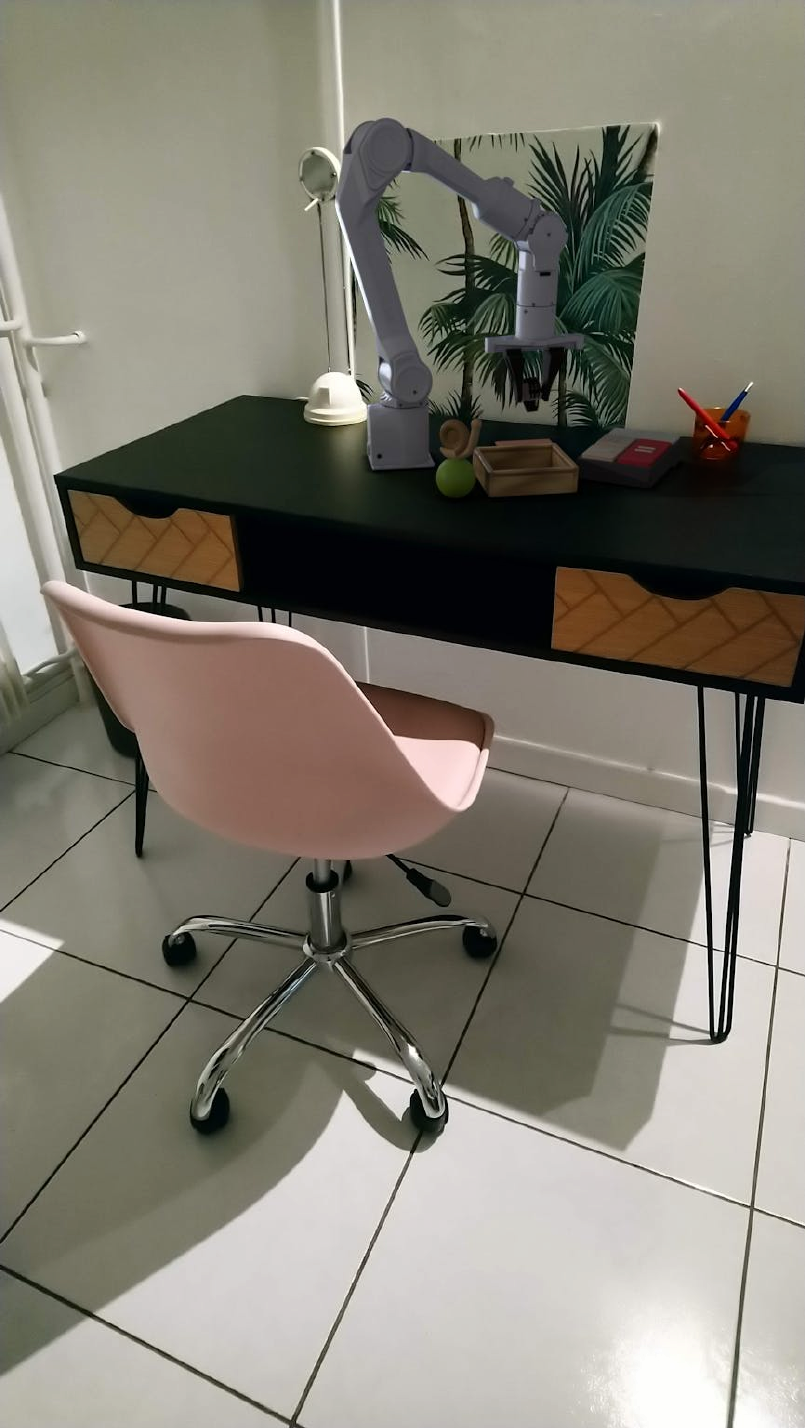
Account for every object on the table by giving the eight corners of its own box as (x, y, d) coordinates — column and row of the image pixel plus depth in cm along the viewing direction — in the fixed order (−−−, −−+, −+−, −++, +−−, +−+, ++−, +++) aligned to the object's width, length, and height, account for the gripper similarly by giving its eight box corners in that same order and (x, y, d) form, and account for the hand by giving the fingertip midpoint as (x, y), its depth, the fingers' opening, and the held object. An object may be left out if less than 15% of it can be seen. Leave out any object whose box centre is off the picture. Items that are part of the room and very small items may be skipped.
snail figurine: (469, 507, 119) (471, 415, 113) (428, 499, 122) (428, 409, 116) (488, 495, 123) (491, 406, 116) (448, 488, 126) (448, 400, 119)
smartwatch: (546, 406, 139) (545, 373, 137) (540, 415, 135) (540, 381, 133) (520, 407, 141) (519, 374, 138) (513, 416, 137) (512, 382, 134)
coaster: (506, 459, 137) (506, 457, 137) (494, 443, 145) (495, 441, 145) (563, 456, 138) (563, 453, 138) (549, 441, 146) (549, 438, 145)
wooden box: (488, 497, 122) (489, 472, 120) (472, 470, 133) (472, 447, 131) (577, 492, 123) (579, 467, 121) (554, 466, 134) (555, 442, 132)
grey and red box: (576, 453, 126) (613, 423, 137) (574, 482, 129) (611, 451, 139) (652, 463, 122) (685, 431, 132) (649, 493, 124) (681, 460, 134)
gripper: (492, 310, 126) (489, 408, 133) (592, 306, 127) (584, 404, 134) (483, 303, 132) (481, 398, 139) (579, 299, 133) (571, 393, 140)
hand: (531, 400), depth 137 cm, fingers closed on smartwatch, 3 cm apart
